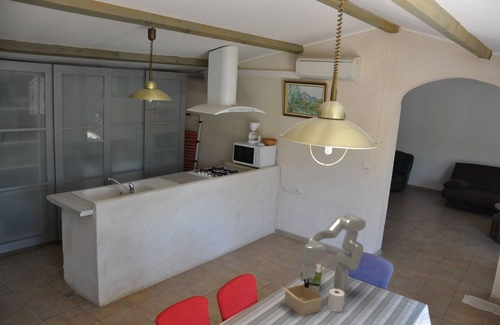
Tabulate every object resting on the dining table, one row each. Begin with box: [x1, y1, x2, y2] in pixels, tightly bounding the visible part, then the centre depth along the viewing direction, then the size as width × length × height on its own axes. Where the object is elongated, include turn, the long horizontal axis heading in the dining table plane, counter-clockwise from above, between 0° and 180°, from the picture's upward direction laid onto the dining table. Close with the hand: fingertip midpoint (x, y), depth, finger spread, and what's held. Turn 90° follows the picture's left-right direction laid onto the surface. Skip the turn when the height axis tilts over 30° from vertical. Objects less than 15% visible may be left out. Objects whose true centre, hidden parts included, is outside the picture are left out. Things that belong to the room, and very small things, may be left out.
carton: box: [284, 283, 323, 317], centre depth 274 cm, size 16×21×10 cm
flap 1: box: [280, 285, 301, 302], centre depth 268 cm, size 6×18×1 cm
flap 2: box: [309, 284, 322, 297], centre depth 276 cm, size 6×18×1 cm
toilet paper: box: [327, 287, 345, 313], centre depth 274 cm, size 10×10×12 cm
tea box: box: [309, 263, 323, 291], centre depth 304 cm, size 15×10×15 cm
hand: (306, 287), depth 274 cm, fingers closed
